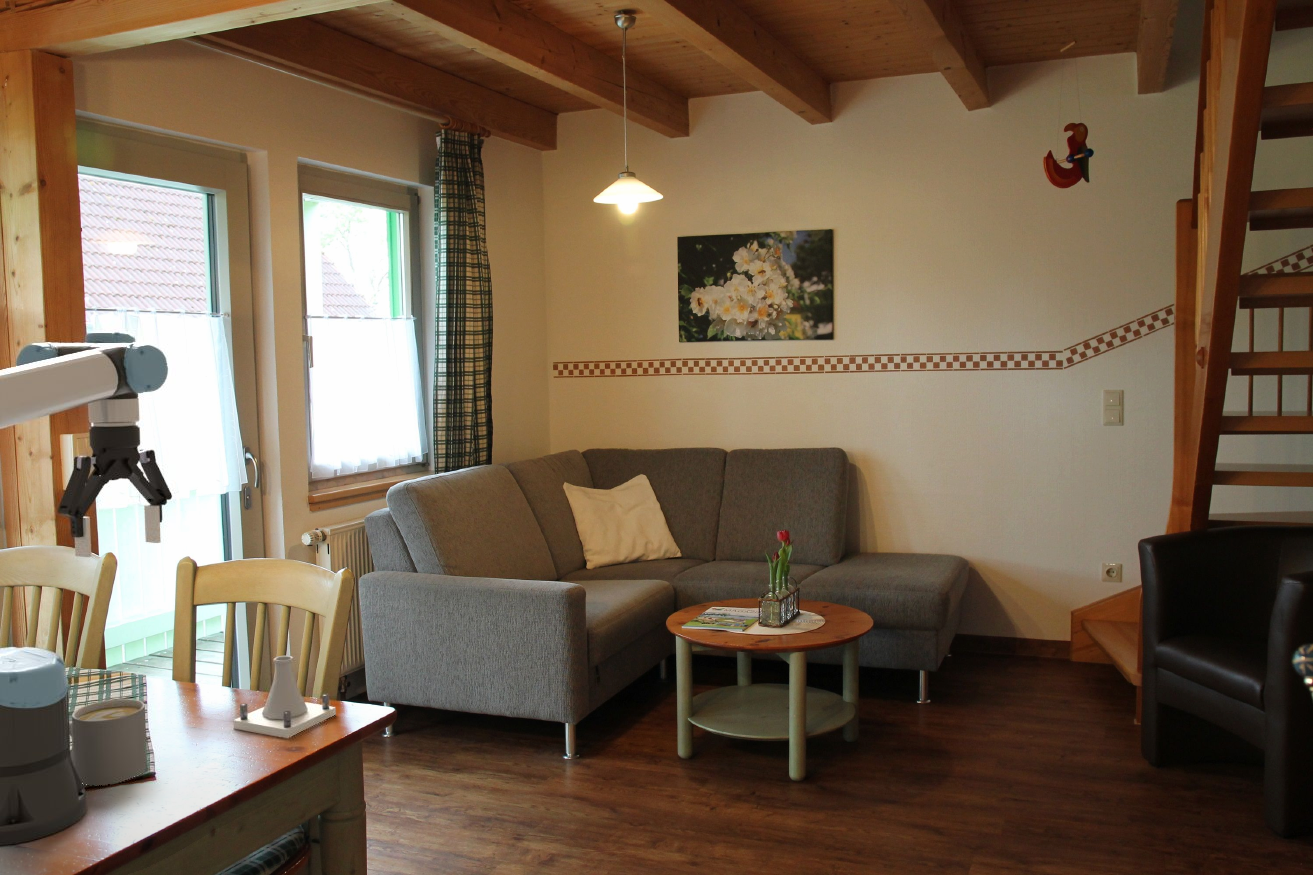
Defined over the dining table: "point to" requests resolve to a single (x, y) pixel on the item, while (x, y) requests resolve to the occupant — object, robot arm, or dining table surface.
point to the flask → (284, 691)
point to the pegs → (285, 714)
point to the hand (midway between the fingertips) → (119, 549)
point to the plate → (276, 726)
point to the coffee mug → (109, 741)
